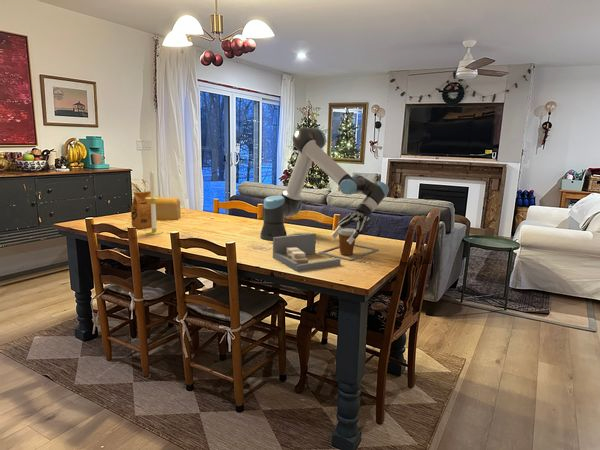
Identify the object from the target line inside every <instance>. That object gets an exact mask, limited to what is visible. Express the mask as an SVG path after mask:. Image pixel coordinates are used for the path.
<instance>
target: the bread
mask: <svg viewBox="0 0 600 450" xmlns="http://www.w3.org/2000/svg"><path fill="white" fill-rule="evenodd" d="M159 197H160V199H155V204H156V221H157V220H177V221H179V220H180V219H181V215H182V214H181V213H182V212H181V200H180V198H178V197H173V196H159Z"/></svg>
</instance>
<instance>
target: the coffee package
mask: <svg viewBox="0 0 600 450" xmlns="http://www.w3.org/2000/svg"><path fill="white" fill-rule="evenodd" d="M146 197H151V190H147V191H143V192H141V191H139V192H138V191H134V192H133V199H132V203H131V207H130V208H131V209H130V212H131V214H130V216H131V217H130V219H131V227H132V228H134V227H136V228H137V230H141V229H149V228H148V227H150V228H152V217H151V200H149V199H145V198H146ZM136 228H135V229H136Z"/></svg>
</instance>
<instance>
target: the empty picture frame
mask: <svg viewBox="0 0 600 450" xmlns="http://www.w3.org/2000/svg"><path fill="white" fill-rule="evenodd" d="M354 247H358V248H361V249H367V250H370V249H371V251H369V252H366V253H364V254H361V255H357V256H355V257H352V258H348V257H345V256H344V257H343V256H339V255H335V254H331V253H327V252H330V251H333V250H336V249H340V245H337V246H333V247H331V248H329V249H325V250H321V251H319V252H318V254H319V255H323V256H327V257H328V258H330V259H332V260H333V259H341V260H345V261H348V262H352V261H355V260H357V259H361V258H363V257H366V256H368V255H371V254H373V253H377V252H378V251H379V250H380V249H378V248H373V247H369V246H364V245H361V244H360V245H359V244H355V243H354Z"/></svg>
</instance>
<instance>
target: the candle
mask: <svg viewBox="0 0 600 450" xmlns="http://www.w3.org/2000/svg"><path fill="white" fill-rule="evenodd" d="M149 179H150V180H149V182H150V184H149V185H150V187H149V188H150V192H151V197H146V198H145V199H149V200H151V217H152V227H151V230H150V229H149V230H147V231H145V232H146V233H148V234H147V235H156V234H155V233H156V232H159V230H160V229H157V228H158V227H157V220H156V204H155V199H160V197H161V196H156V194H155V193H156V191H155V172H154V171H153V168H151V169H150V172H149ZM146 233H145V234H146ZM159 233H160V232H159Z"/></svg>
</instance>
